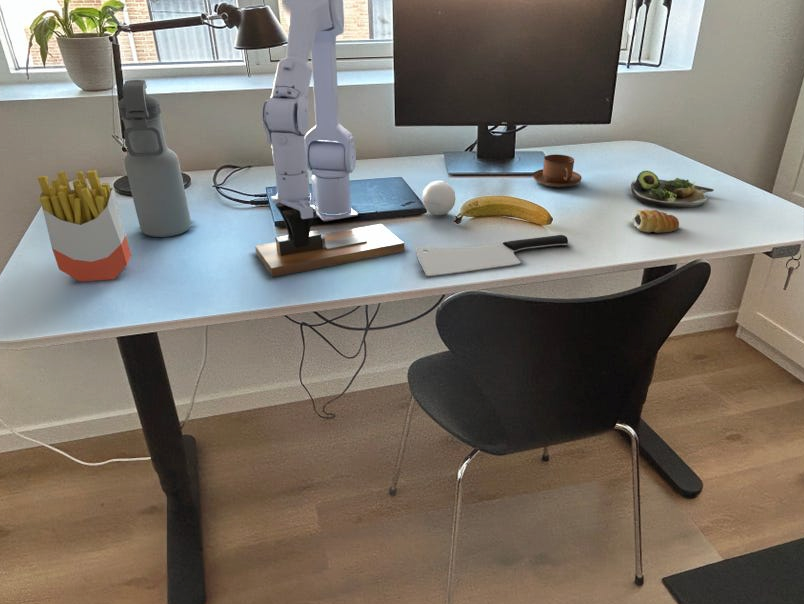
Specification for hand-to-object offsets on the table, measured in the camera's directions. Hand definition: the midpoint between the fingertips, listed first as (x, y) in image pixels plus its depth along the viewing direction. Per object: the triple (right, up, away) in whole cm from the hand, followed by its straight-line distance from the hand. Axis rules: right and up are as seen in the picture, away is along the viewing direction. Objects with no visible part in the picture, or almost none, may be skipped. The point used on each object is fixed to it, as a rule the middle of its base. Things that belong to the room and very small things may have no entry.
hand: (299, 243), depth 122 cm
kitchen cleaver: (+37, -2, +5) cm, 38 cm away
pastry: (+72, +6, +19) cm, 74 cm away
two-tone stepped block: (+4, 0, +2) cm, 5 cm away
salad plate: (+80, +17, +36) cm, 89 cm away
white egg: (+24, +10, +22) cm, 34 cm away
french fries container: (-34, -7, -6) cm, 35 cm away
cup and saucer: (+55, +22, +42) cm, 73 cm away
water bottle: (-30, +5, +12) cm, 33 cm away
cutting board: (+5, -1, +4) cm, 7 cm away
